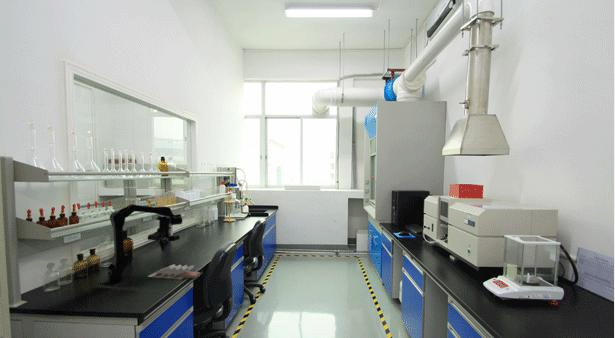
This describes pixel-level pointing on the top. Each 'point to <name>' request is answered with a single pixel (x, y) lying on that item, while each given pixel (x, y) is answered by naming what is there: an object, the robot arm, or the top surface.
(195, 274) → the domino
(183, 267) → the domino
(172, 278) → the beige flat rectangular board
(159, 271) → the domino
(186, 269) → the domino
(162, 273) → the domino
